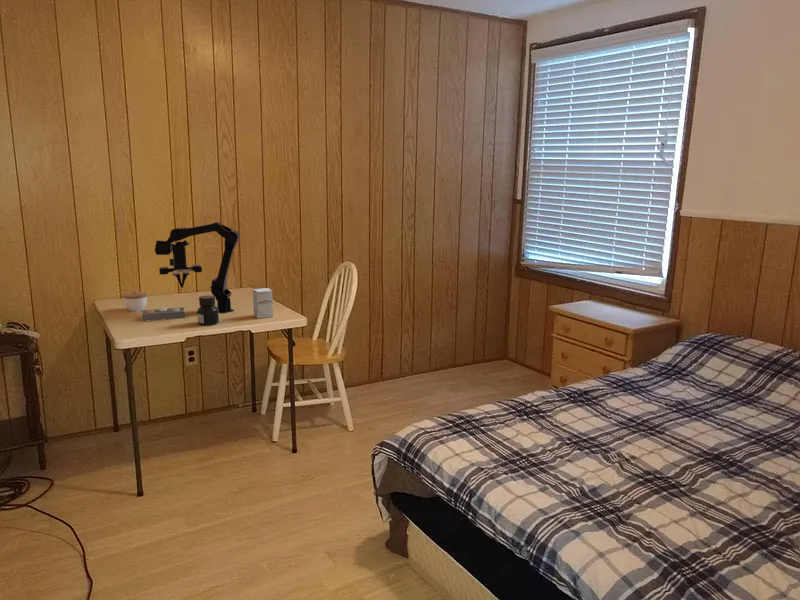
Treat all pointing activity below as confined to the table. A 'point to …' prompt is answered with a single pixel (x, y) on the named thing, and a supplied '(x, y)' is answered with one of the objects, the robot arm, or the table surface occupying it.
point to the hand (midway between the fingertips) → (182, 287)
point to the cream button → (163, 309)
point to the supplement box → (262, 302)
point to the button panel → (163, 314)
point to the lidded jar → (135, 300)
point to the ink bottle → (207, 311)
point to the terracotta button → (150, 311)
